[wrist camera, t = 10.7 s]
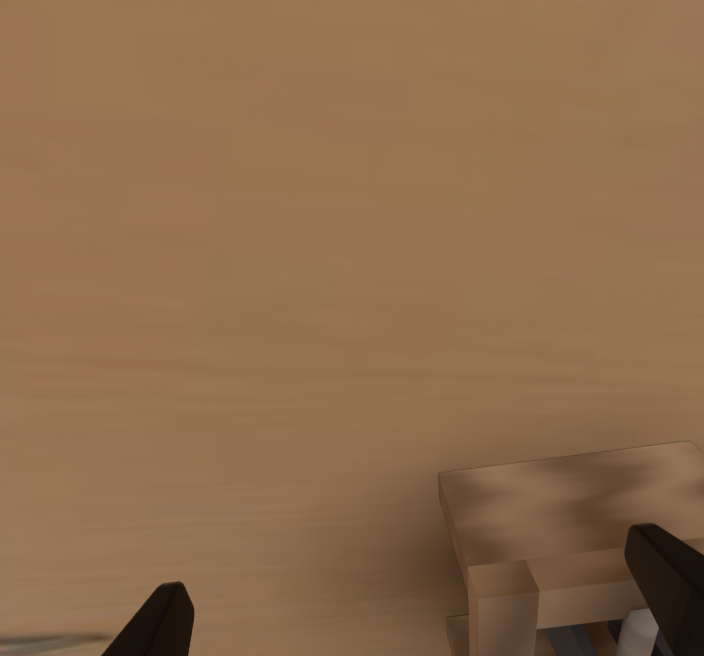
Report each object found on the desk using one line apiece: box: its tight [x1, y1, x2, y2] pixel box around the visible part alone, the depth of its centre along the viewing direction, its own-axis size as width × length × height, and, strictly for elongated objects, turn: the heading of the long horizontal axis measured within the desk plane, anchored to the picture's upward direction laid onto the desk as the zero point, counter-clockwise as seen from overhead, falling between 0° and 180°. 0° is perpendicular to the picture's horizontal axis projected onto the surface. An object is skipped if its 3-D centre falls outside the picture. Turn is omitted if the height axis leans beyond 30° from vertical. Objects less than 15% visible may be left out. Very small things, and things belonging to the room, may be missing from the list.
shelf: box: [438, 441, 704, 656], centre depth 23 cm, size 14×15×8 cm
